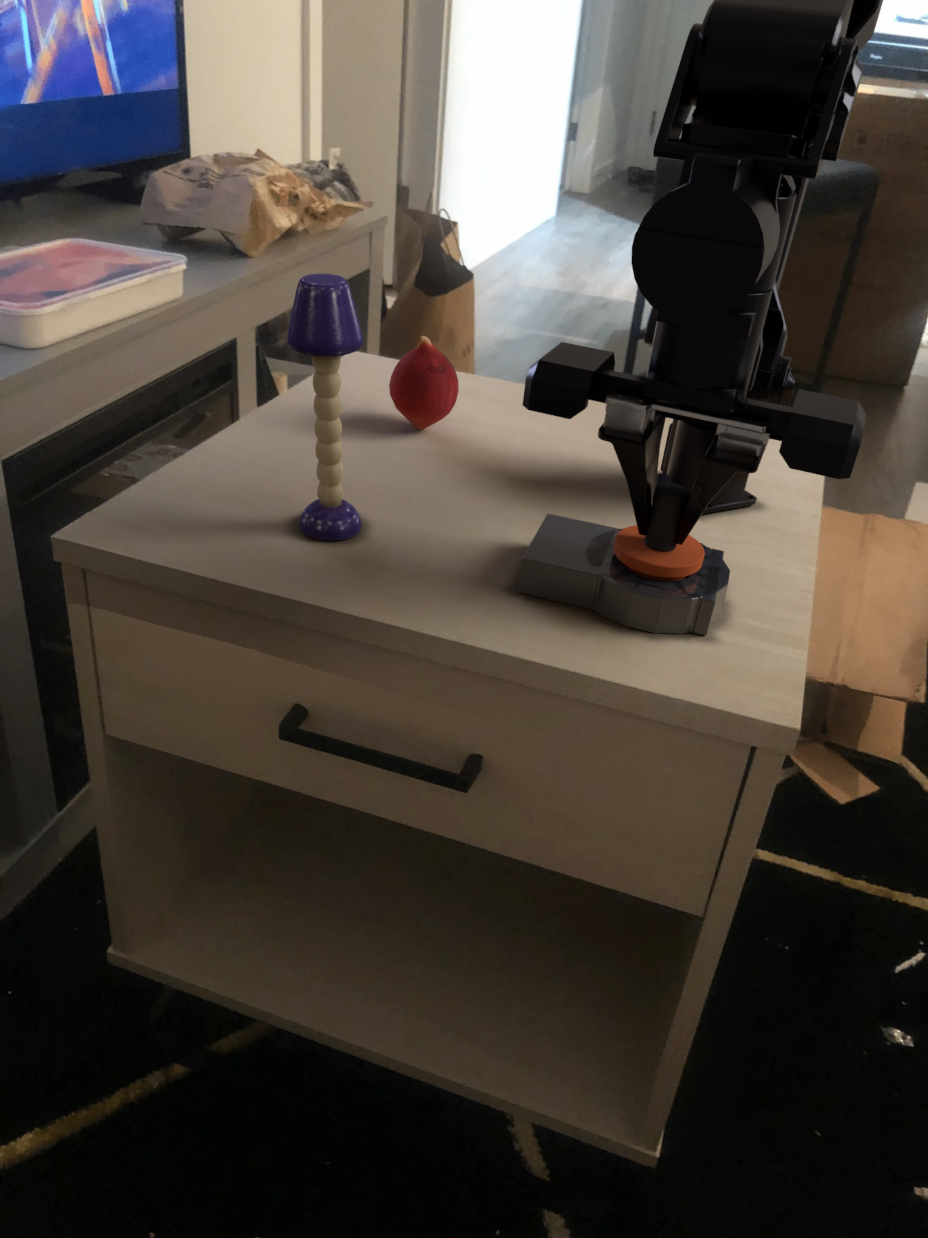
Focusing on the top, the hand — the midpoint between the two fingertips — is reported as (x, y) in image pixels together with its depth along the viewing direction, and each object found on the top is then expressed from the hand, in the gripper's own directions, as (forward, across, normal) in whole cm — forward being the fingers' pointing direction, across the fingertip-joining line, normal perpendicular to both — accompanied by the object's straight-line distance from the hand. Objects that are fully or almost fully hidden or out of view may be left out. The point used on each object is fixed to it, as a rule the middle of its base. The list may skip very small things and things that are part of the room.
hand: (662, 537), depth 59 cm
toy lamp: (+4, +22, +3) cm, 23 cm away
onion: (+4, +24, -18) cm, 30 cm away
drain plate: (+4, +2, 0) cm, 5 cm away
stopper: (+3, 0, 0) cm, 3 cm away
